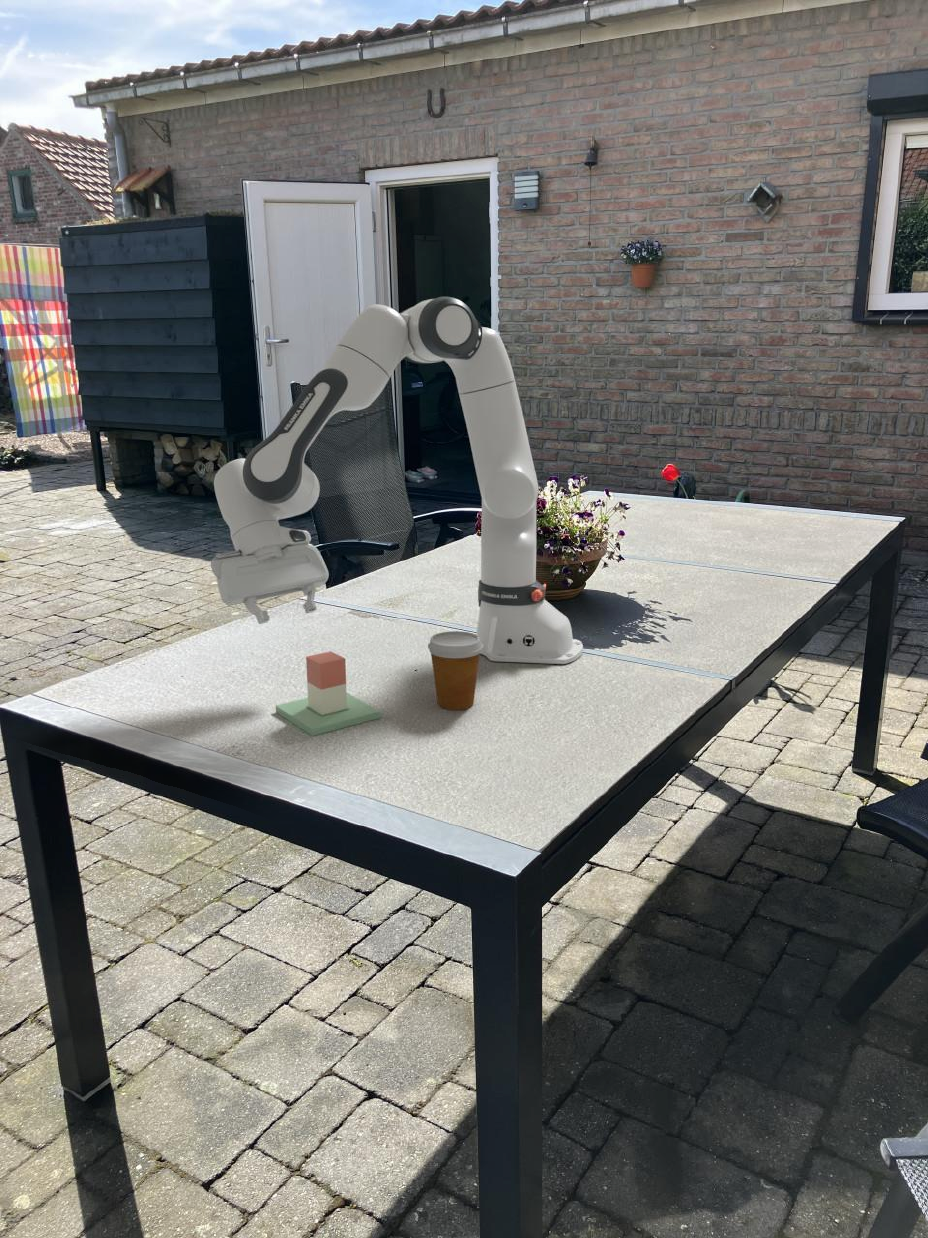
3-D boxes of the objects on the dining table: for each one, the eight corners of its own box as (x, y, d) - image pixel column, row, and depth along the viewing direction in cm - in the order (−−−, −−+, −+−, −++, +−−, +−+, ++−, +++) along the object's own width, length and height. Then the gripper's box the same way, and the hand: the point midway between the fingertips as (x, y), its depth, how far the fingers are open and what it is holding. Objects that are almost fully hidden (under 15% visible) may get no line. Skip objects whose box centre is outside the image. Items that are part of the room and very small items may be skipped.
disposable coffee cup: (464, 717, 174) (464, 650, 171) (417, 706, 179) (417, 641, 175) (492, 700, 182) (493, 636, 178) (447, 690, 187) (447, 627, 183)
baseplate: (341, 695, 184) (341, 689, 183) (380, 718, 174) (380, 710, 173) (275, 712, 176) (275, 704, 176) (312, 736, 166) (312, 728, 166)
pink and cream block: (332, 700, 178) (331, 651, 175) (347, 708, 174) (345, 658, 172) (308, 706, 175) (306, 656, 173) (322, 715, 172) (320, 664, 169)
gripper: (213, 548, 174) (241, 621, 171) (316, 530, 186) (344, 599, 183) (201, 563, 179) (228, 635, 176) (303, 545, 191) (329, 612, 188)
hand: (288, 616), depth 180 cm, fingers open, 8 cm apart
